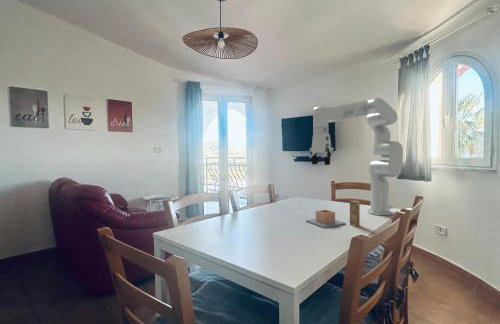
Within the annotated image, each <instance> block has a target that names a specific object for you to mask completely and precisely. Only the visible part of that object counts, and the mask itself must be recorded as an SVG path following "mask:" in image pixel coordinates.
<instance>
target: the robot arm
mask: <svg viewBox="0 0 500 324" xmlns="http://www.w3.org/2000/svg"><path fill="white" fill-rule="evenodd" d="M312 113H313V115H312V117H313V118H312V119H313V120H312V123H313V124H312V125H313V126H312V127H313V130H312V133H313V134H312V142H311V147H310V148H309V152H310V153H309V154H310V156H311V164H312V165H318V154H323V155H324V161H323V162H324V165H325V166H331V157H332V155H333V152H334V150H335V149H334V147H333V146H332V141H331V135H330V133H329V130H330V129H329V123H335V122H339V121H344V120H351V119H356V118H361V117H365V116H366V122H367V124H368V125H369V126H370V127H371V129H372V131H373V134H374V137H373V138H374V140H373V147H372V148H373V151H372V153H373V155H374V157H377V158H380V159H376V160H372V161H371V162H370V163H369V164H368V171H369V176H370V209H368V210H367V213H369V214H370V215H376V216H389V215H390V216H391V215H392V211H391V209H394V206H393V205H389V203H390V201H389V199H390V198H389V194H390V193H389V190H390V189H389V187H390V186H389V181H388V178H397V177H399V176H400V174H401V172H402V168H403V158H404V157H403V156H404V148H403V145H402V144H401V143H400V142H399V141H397V140H394V141H393V140H392V141H391V131H390V129H389V128H388V126H390V125H393V124H395V123H396V122H397V120H398V113H397V112H396V109H394V108H393V107H392V106H391V105H390V104H389V103H388V102H387V101H385V100H384V99H382V98H381V97H374V98H373V97H372V98H370V99H369V98H368V99H363V100H359V101H355V102H349V103H345V104H342V105H339V106H328V107H327V106H317V107H314V108H313V111H312ZM383 158H385V159H383Z"/></svg>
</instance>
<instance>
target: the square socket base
mask: <svg viewBox="0 0 500 324" xmlns="http://www.w3.org/2000/svg"><path fill="white" fill-rule="evenodd" d="M305 222H306V223H309V224H311V225H314V226H317V227H318V228H319V227H320V228H322V229H327V228H333V227H338V226H344V225H346V224H347V223H346V222H344V221H340V220H338V219H336V211H332V210H329V209H321V210H315V218H311V219H306V220H305Z"/></svg>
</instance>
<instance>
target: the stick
mask: <svg viewBox="0 0 500 324" xmlns="http://www.w3.org/2000/svg"><path fill="white" fill-rule="evenodd" d="M360 206H361V205H360V200H349V226H353V227H359V226H360V217H361V216H360V212H361V211H360Z"/></svg>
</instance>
